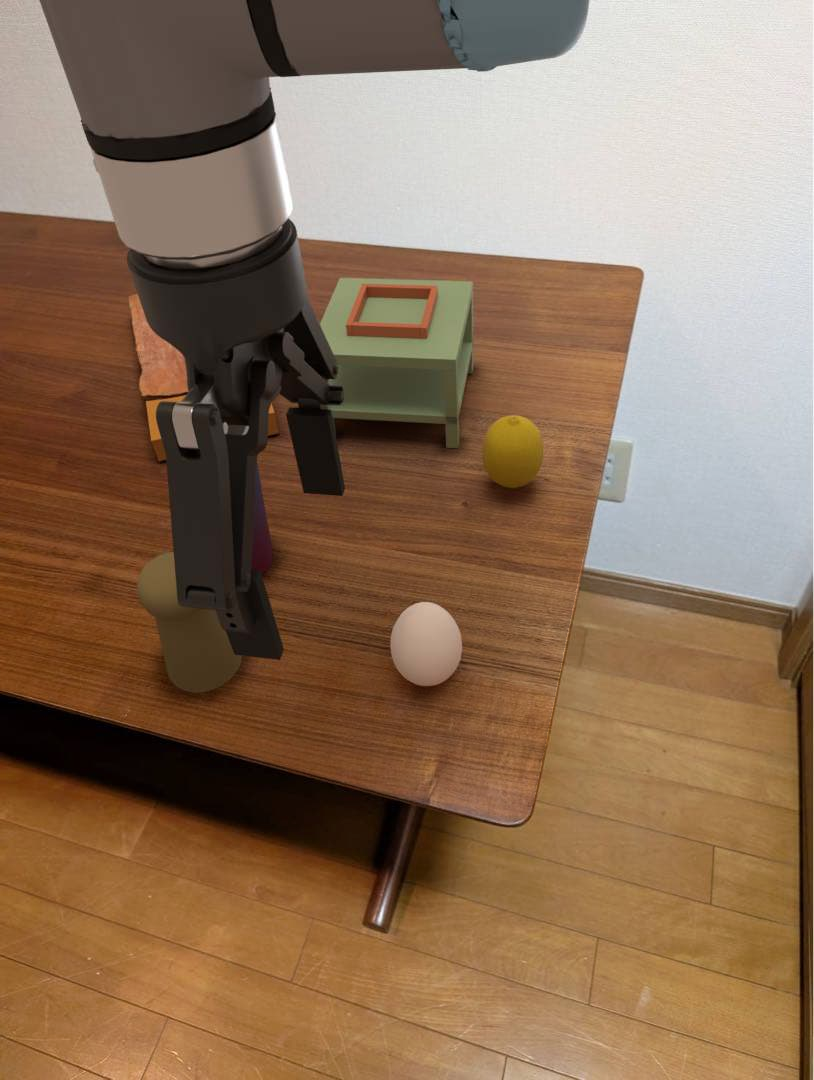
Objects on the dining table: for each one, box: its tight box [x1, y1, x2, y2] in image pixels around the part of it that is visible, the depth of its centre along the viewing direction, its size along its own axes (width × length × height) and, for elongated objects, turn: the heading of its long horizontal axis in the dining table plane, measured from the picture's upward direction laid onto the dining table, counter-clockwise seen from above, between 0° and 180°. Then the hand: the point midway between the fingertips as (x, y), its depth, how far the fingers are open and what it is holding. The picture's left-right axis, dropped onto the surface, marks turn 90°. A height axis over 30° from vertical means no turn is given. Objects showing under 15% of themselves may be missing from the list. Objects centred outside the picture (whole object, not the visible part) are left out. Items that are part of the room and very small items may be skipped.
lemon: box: [481, 414, 544, 489], centre depth 76 cm, size 6×6×8 cm
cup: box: [161, 425, 274, 575], centre depth 69 cm, size 7×7×15 cm
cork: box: [136, 551, 243, 694], centre depth 63 cm, size 6×6×11 cm
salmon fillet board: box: [127, 293, 280, 462], centre depth 94 cm, size 13×30×3 cm, turn 17°
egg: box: [390, 601, 463, 687], centre depth 62 cm, size 5×5×8 cm
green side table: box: [319, 277, 474, 449], centre depth 85 cm, size 14×14×12 cm
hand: (294, 564), depth 51 cm, fingers open, 13 cm apart
